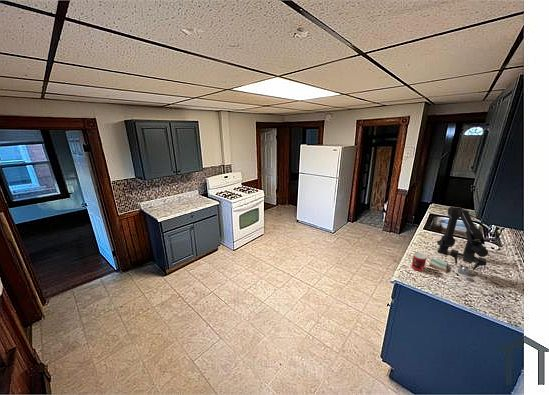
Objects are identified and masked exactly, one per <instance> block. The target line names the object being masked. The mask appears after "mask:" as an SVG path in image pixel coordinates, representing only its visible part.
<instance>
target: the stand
mask: <svg viewBox="0 0 549 395" xmlns="http://www.w3.org/2000/svg"><path fill="white" fill-rule="evenodd" d="M448 265H449V263H448V262H446V261H443V260H440V259H437V258H434V257H432V258H431V259H430V261H429V266H428V267H429V268H433V269H435V270H438V271H441V272H444V273H446V272H447V270H448Z"/></svg>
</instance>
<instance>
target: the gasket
mask: <svg viewBox="0 0 549 395" xmlns="http://www.w3.org/2000/svg"><path fill="white" fill-rule="evenodd" d="M465 280H466V281H468V282H470V283H474V282H475V279H473V278H472V277H468V276H466V277H465Z"/></svg>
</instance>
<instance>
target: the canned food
mask: <svg viewBox="0 0 549 395" xmlns="http://www.w3.org/2000/svg"><path fill="white" fill-rule="evenodd" d="M427 258H428V257H427V255H426V254H425V253H422V252H418V251H415V252H414V253H413V257H412V261H411V268H412V270H414V271H416V272H423V271H424V269H425V266H426V261H427Z"/></svg>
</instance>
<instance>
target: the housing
mask: <svg viewBox="0 0 549 395" xmlns="http://www.w3.org/2000/svg"><path fill="white" fill-rule="evenodd" d="M458 274H460V275H462V276H466V277H468V276H469V274H470V268H469V266H467V265H463V264H459V266H458Z"/></svg>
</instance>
